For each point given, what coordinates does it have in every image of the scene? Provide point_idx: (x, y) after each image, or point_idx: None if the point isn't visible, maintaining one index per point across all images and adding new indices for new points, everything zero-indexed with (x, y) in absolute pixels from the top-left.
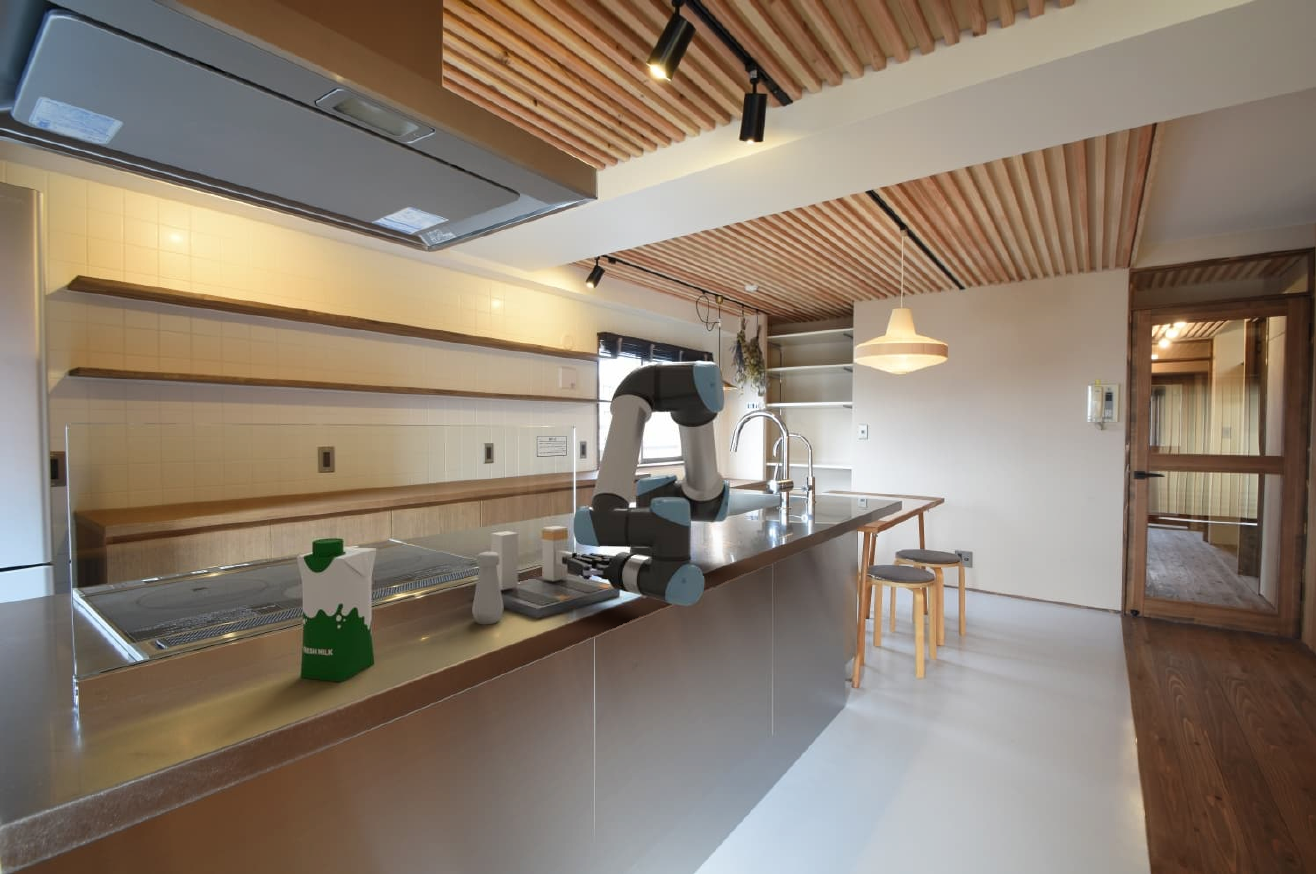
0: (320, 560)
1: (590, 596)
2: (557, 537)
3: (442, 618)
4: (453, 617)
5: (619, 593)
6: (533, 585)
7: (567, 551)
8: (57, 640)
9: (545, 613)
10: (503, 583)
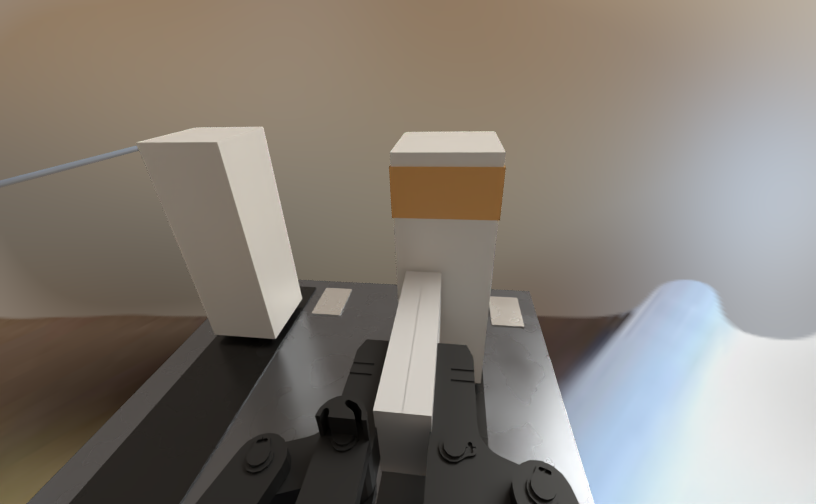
0: None
1: None
2: (422, 203)
3: (28, 359)
4: (34, 373)
5: None
6: (337, 353)
7: (438, 308)
8: (19, 182)
9: None
10: (214, 318)
